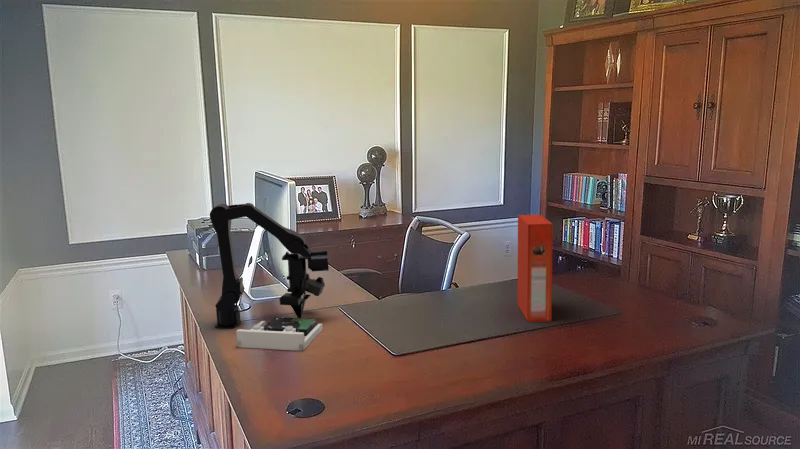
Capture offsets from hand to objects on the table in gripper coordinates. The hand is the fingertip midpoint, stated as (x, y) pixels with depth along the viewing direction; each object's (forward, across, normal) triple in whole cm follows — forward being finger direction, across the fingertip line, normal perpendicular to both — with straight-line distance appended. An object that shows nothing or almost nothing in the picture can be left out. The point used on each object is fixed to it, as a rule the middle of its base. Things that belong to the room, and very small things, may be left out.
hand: (299, 317), depth 197 cm
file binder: (+1, +17, -76) cm, 78 cm away
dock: (+1, -16, 0) cm, 16 cm away
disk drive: (+2, -8, 0) cm, 9 cm away
